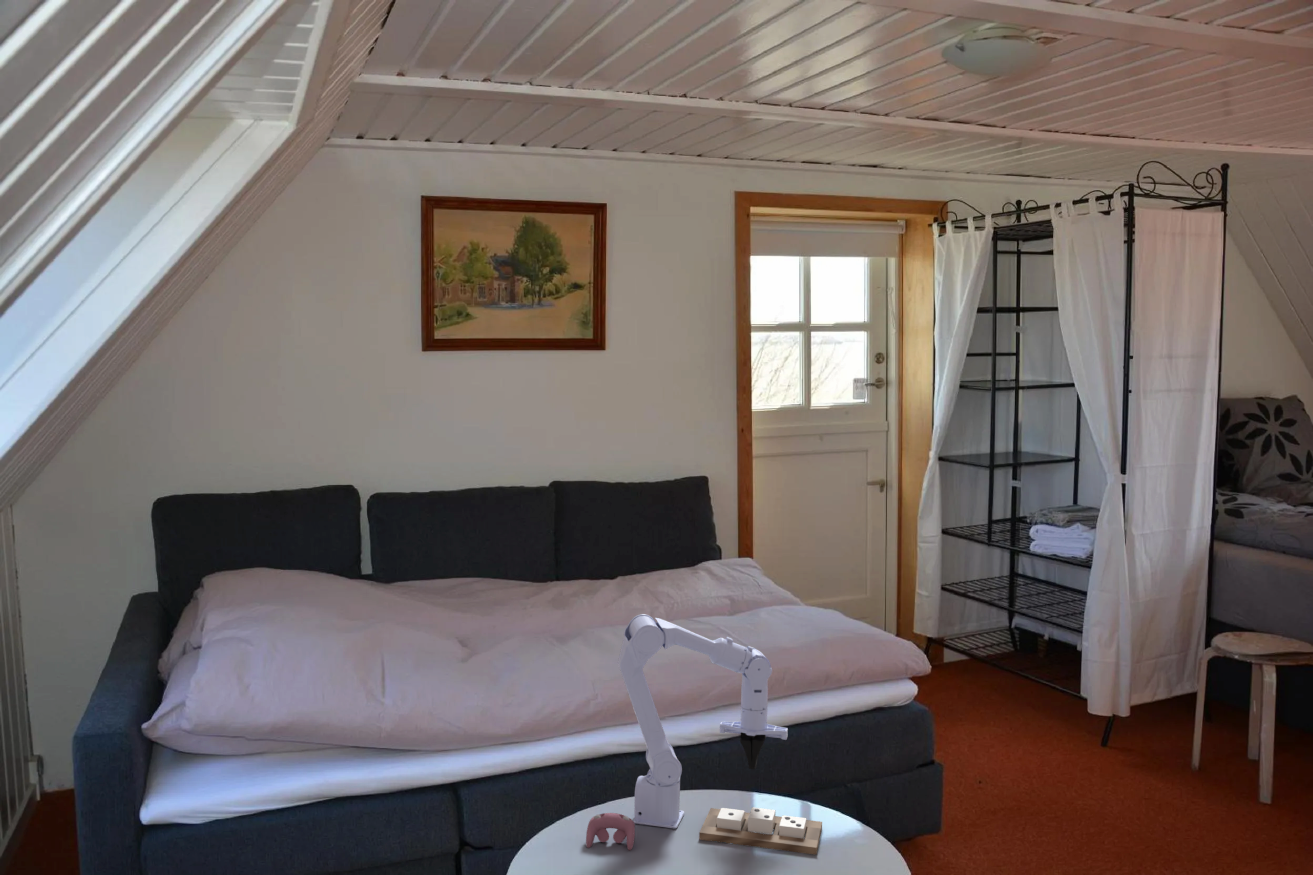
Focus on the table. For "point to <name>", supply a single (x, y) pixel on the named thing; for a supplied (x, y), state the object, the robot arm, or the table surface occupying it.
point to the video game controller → (611, 820)
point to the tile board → (762, 835)
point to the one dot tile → (731, 819)
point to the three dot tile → (792, 827)
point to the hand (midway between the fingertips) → (752, 767)
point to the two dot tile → (761, 820)
